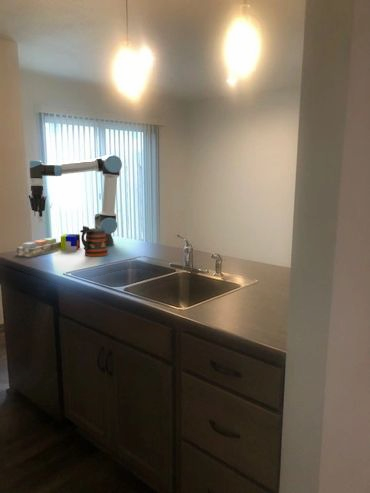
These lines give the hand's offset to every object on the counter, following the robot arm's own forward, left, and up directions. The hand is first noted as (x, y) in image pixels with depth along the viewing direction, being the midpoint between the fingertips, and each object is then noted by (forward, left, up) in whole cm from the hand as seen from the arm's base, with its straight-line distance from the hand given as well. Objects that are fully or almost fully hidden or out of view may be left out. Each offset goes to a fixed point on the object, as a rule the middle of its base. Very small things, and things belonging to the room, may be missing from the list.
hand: (38, 221), depth 249 cm
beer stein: (-37, -8, -21) cm, 43 cm away
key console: (0, 0, -20) cm, 20 cm away
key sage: (0, -9, -17) cm, 19 cm away
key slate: (0, +9, -17) cm, 19 cm away
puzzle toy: (-12, -16, -21) cm, 29 cm away
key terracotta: (0, 0, -17) cm, 17 cm away
